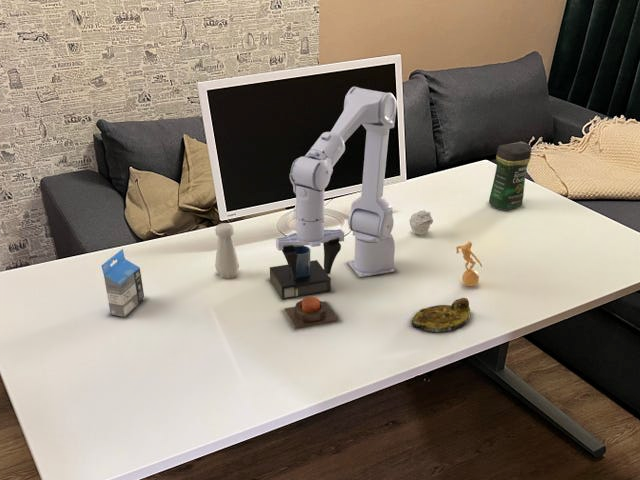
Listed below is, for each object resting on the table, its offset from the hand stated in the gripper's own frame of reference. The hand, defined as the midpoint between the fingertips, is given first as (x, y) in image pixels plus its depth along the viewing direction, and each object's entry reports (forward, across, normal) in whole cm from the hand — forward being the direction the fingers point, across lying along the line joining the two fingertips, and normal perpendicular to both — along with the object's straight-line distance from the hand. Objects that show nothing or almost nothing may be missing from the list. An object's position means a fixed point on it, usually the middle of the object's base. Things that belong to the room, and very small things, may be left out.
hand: (310, 274), depth 158 cm
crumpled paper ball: (+11, +42, +31) cm, 53 cm away
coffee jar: (+10, +75, +41) cm, 86 cm away
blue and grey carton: (+11, -38, +17) cm, 43 cm away
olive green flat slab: (+11, +27, -11) cm, 31 cm away
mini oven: (+10, +2, +14) cm, 17 cm away
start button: (+8, 0, 0) cm, 8 cm away
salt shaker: (+11, -13, +25) cm, 30 cm away
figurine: (+11, +40, +1) cm, 41 cm away
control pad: (+10, 0, 0) cm, 10 cm away
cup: (+7, +2, +14) cm, 16 cm away
